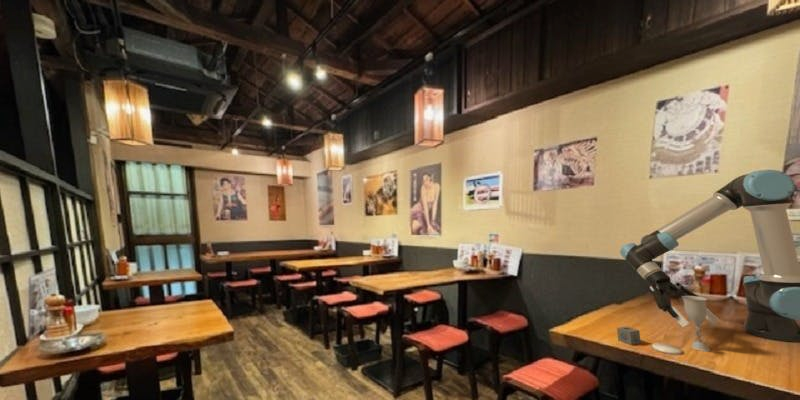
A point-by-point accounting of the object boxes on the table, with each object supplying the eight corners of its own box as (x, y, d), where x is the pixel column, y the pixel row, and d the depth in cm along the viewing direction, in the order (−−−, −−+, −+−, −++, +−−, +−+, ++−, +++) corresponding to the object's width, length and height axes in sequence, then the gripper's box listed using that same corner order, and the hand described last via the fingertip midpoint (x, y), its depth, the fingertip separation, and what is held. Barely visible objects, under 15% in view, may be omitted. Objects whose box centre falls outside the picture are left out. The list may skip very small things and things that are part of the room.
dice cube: (627, 339, 118) (626, 326, 119) (640, 343, 114) (639, 330, 114) (618, 340, 117) (616, 327, 117) (631, 345, 112) (629, 331, 113)
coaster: (676, 347, 109) (675, 344, 109) (686, 356, 102) (686, 353, 102) (649, 344, 112) (648, 341, 112) (657, 352, 105) (656, 350, 105)
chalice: (708, 354, 103) (701, 301, 105) (683, 347, 109) (677, 297, 111) (718, 349, 106) (711, 298, 108) (693, 343, 112) (687, 295, 114)
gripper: (671, 279, 128) (719, 325, 112) (623, 282, 123) (666, 332, 107) (683, 268, 123) (735, 315, 107) (634, 271, 118) (681, 321, 102)
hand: (701, 323), depth 107 cm, fingers open, 13 cm apart
